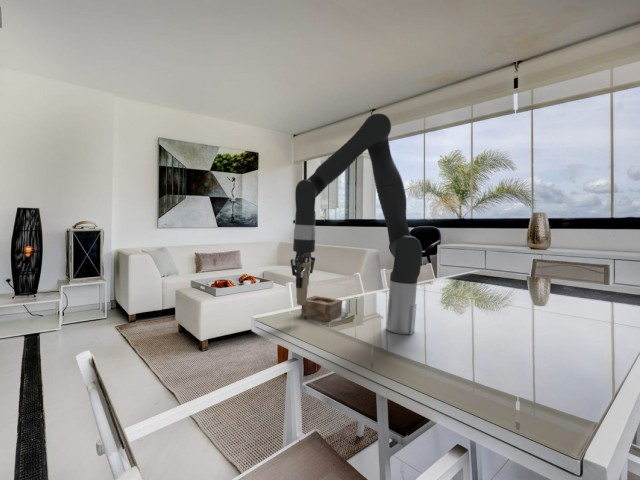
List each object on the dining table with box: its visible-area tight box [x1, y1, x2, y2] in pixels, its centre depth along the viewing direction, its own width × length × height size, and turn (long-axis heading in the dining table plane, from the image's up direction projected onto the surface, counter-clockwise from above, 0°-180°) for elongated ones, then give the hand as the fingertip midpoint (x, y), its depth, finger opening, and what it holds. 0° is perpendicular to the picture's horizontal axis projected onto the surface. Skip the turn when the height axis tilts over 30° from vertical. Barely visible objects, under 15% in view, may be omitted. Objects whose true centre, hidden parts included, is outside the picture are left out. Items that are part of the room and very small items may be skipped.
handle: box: [295, 262, 311, 306], centre depth 117 cm, size 5×6×15 cm
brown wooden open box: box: [300, 295, 343, 322], centre depth 129 cm, size 12×11×6 cm
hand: (302, 286), depth 117 cm, fingers closed on handle, 4 cm apart
